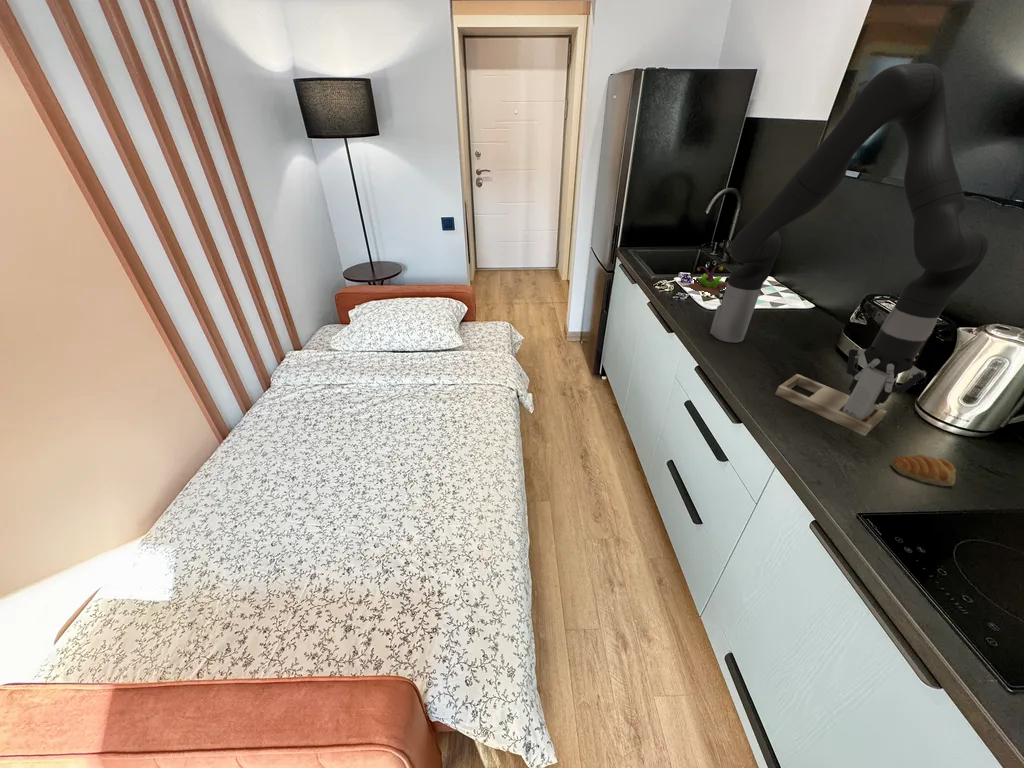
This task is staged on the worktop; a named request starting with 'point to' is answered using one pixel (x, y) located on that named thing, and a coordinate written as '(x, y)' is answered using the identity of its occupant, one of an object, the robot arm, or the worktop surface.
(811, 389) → the wooden compartment tray
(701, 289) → the plant
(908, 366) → the robot arm
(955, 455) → the worktop surface
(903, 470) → the pastry
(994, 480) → the worktop surface
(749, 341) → the worktop surface
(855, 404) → the skincare box
